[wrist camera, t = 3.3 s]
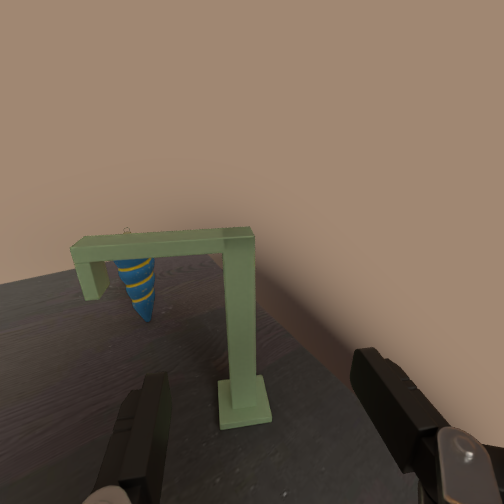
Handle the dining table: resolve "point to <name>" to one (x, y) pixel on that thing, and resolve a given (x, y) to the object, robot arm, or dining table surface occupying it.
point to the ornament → (139, 283)
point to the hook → (236, 301)
